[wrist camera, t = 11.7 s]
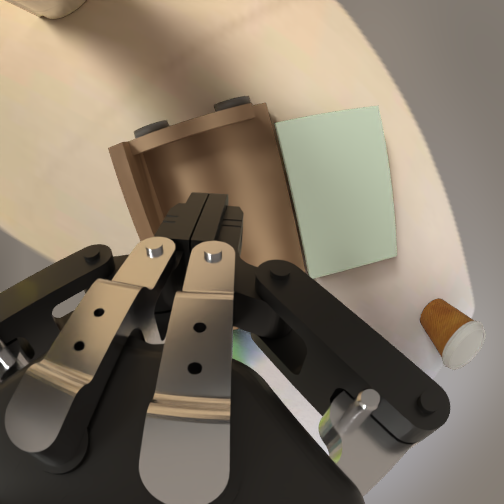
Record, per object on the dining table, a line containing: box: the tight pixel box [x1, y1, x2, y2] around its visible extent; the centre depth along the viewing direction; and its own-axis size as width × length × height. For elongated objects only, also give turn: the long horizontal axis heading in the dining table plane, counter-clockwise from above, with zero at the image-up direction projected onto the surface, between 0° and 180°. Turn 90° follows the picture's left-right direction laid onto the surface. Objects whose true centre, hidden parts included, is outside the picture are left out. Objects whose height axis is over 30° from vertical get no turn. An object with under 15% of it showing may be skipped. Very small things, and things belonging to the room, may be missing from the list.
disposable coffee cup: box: [420, 299, 486, 370], centre depth 42 cm, size 10×10×12 cm
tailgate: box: [274, 106, 397, 279], centre depth 33 cm, size 2×19×12 cm
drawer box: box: [108, 96, 305, 330], centre depth 33 cm, size 16×26×9 cm, turn 15°
